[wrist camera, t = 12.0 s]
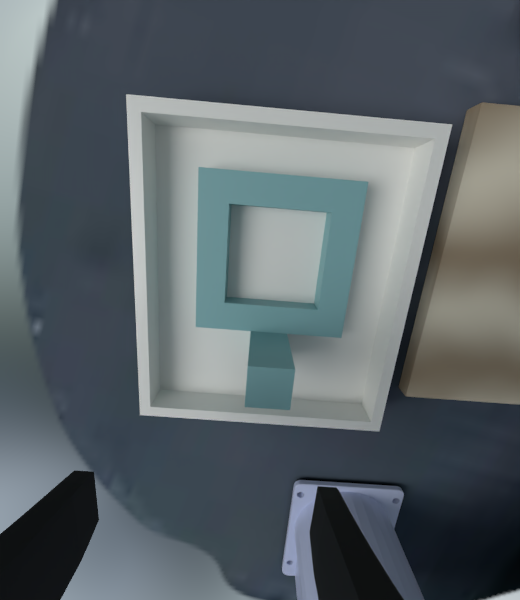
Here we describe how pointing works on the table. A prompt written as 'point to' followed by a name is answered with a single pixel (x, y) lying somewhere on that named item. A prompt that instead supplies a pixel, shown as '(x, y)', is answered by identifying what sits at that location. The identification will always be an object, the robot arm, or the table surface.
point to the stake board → (473, 272)
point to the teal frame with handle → (269, 313)
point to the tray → (274, 254)
